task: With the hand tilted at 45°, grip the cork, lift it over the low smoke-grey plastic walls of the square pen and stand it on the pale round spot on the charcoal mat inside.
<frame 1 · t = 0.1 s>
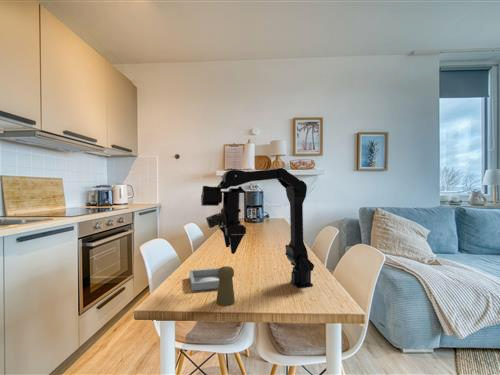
hand: (230, 250, 87), 15 cm above the table, tool pointing down, fingers open, 9 cm apart
walled pen: (209, 282, 95), on the table
cork: (225, 302, 80), on the table
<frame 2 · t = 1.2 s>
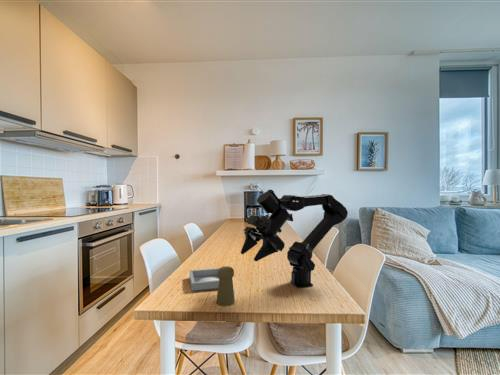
hand: (247, 256, 83), 13 cm above the table, tool tilted 45°, fingers open, 9 cm apart
nothing on the table moved.
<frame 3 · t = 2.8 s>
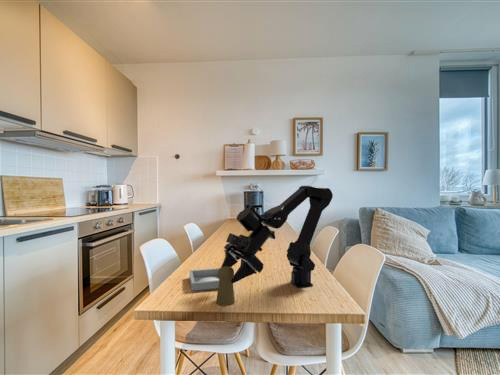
hand: (225, 277, 79), 8 cm above the table, tool tilted 45°, fingers open, 9 cm apart
nothing on the table moved.
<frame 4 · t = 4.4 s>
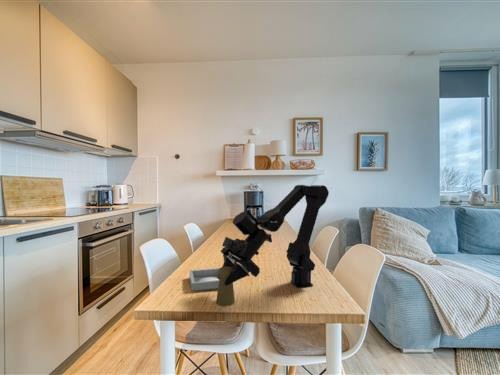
hand: (221, 281, 79), 7 cm above the table, tool tilted 45°, fingers closed on cork, 5 cm apart
cork: (225, 302, 80), on the table, touching gripper
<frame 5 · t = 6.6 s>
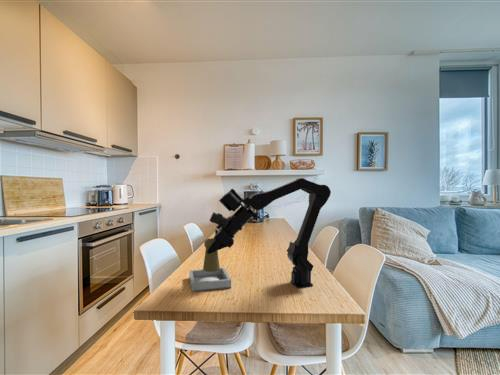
hand: (207, 250, 90), 13 cm above the table, tool tilted 45°, fingers closed on cork, 5 cm apart
cork: (211, 269, 90), point 7 cm above the table, touching gripper
when the fingers open (8 cm above the table, at t = 9.0 s): cork drops 1 cm, resting on walled pen.
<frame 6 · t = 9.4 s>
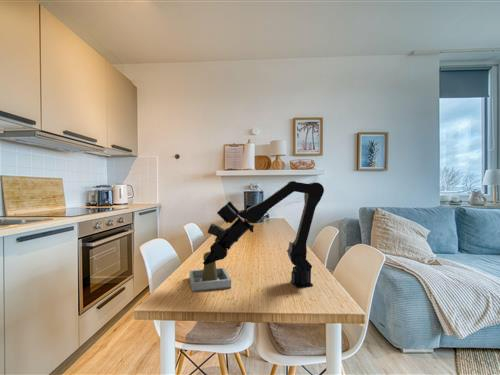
hand: (205, 260, 95), 9 cm above the table, tool tilted 45°, fingers open, 9 cm apart
cork: (209, 281, 95), resting on walled pen
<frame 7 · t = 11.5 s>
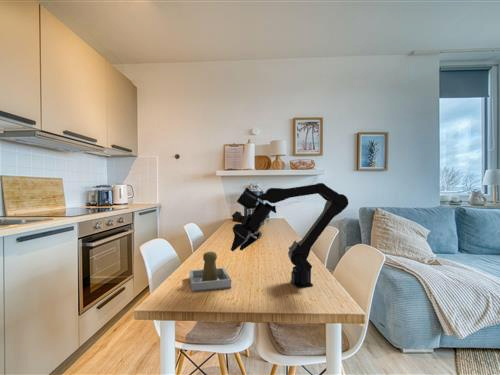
hand: (236, 250, 95), 13 cm above the table, tool tilted 30°, fingers open, 9 cm apart
nothing on the table moved.
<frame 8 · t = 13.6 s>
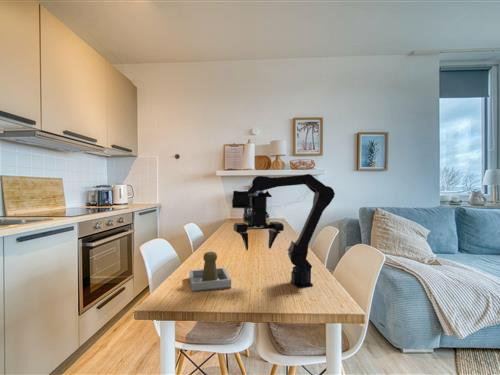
hand: (258, 249, 95), 13 cm above the table, tool pointing down, fingers open, 9 cm apart
nothing on the table moved.
at the end: cork inside the target area on the walled pen (0.2 cm from its centre), point 0.4 cm above the walled pen's base; cork tilted 0°; the gripper is holding nothing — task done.
